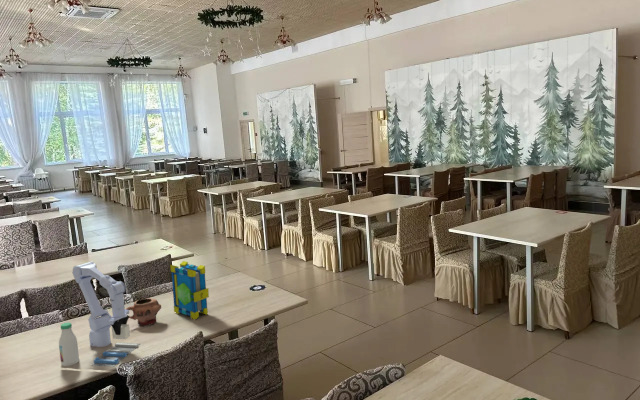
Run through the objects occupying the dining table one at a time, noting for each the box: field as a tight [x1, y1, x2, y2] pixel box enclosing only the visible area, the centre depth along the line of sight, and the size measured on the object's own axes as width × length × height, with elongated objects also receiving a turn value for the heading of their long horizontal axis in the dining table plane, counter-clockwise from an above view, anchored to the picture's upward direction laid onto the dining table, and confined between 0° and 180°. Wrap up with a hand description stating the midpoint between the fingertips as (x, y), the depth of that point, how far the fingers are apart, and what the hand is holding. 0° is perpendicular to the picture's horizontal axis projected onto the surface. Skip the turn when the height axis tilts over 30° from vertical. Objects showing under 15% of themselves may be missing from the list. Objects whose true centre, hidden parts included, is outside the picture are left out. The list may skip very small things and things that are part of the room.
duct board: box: [90, 342, 141, 368], centre depth 236 cm, size 12×24×3 cm, turn 170°
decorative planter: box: [125, 297, 162, 327], centre depth 273 cm, size 20×12×14 cm, turn 125°
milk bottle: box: [58, 322, 80, 367], centre depth 228 cm, size 8×8×20 cm
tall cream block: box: [111, 323, 131, 340], centre depth 239 cm, size 7×4×6 cm, turn 81°
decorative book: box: [170, 260, 210, 320], centre depth 286 cm, size 14×23×30 cm, turn 53°
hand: (120, 332), depth 239 cm, fingers closed on tall cream block, 4 cm apart
